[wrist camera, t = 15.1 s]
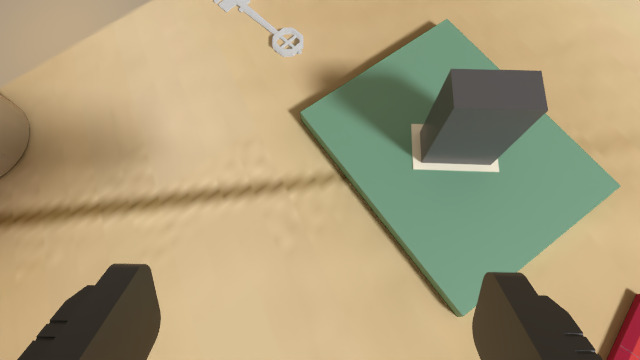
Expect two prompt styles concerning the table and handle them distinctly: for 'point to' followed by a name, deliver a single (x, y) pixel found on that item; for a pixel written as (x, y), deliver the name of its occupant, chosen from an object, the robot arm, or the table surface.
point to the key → (228, 3)
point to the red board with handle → (628, 335)
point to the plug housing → (481, 115)
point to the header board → (452, 171)
